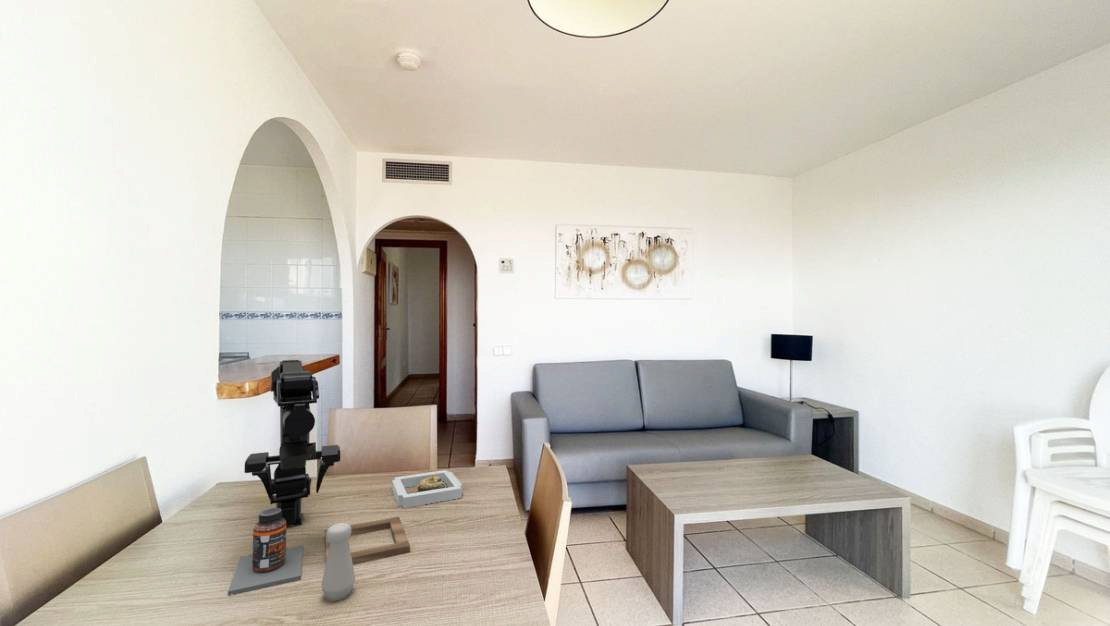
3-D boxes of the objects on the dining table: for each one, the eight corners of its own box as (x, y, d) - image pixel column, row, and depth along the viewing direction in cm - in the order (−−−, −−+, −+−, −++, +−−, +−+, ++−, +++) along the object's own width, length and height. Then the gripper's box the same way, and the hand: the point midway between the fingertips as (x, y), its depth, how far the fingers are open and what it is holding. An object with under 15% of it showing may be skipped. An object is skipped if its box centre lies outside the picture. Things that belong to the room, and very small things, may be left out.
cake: (421, 503, 132) (419, 485, 132) (412, 492, 140) (411, 475, 140) (454, 493, 137) (452, 476, 137) (443, 484, 145) (442, 467, 145)
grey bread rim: (390, 487, 142) (391, 477, 142) (449, 478, 150) (449, 469, 150) (399, 509, 125) (399, 498, 125) (464, 497, 134) (464, 487, 134)
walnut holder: (325, 535, 110) (325, 529, 110) (398, 522, 117) (399, 516, 117) (325, 570, 94) (325, 563, 95) (409, 552, 102) (410, 545, 102)
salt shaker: (329, 586, 89) (329, 519, 89) (359, 584, 89) (359, 518, 90) (315, 604, 83) (316, 533, 83) (348, 603, 84) (349, 532, 84)
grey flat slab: (240, 560, 98) (240, 557, 98) (303, 548, 104) (303, 544, 104) (227, 595, 86) (228, 591, 86) (300, 579, 91) (300, 575, 91)
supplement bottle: (270, 575, 91) (270, 518, 91) (244, 572, 92) (245, 516, 92) (292, 559, 97) (293, 506, 97) (268, 557, 98) (269, 504, 98)
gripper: (240, 440, 93) (239, 517, 92) (341, 430, 101) (340, 501, 101) (249, 428, 103) (247, 498, 102) (340, 420, 111) (339, 484, 111)
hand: (294, 495), depth 104 cm, fingers open, 9 cm apart
